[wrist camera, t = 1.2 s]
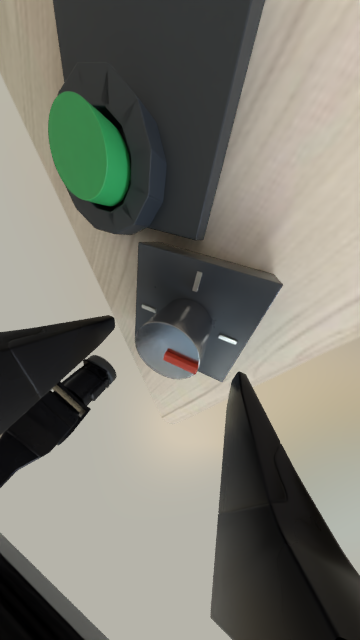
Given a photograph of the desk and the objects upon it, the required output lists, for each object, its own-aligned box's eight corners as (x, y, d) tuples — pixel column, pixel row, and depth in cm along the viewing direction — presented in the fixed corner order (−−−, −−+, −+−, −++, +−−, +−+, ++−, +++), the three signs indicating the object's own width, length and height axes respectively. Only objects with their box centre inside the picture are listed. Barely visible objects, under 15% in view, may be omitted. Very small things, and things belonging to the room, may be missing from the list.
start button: (86, 200, 10) (58, 194, 8) (75, 116, 8) (37, 88, 6) (130, 211, 9) (109, 206, 8) (131, 121, 7) (103, 91, 6)
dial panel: (149, 328, 18) (133, 343, 16) (158, 241, 13) (136, 242, 10) (225, 361, 16) (222, 383, 14) (274, 274, 11) (284, 285, 8)
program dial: (159, 332, 14) (131, 364, 10) (166, 290, 11) (132, 313, 8) (203, 351, 13) (188, 393, 9) (220, 309, 10) (209, 344, 7)
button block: (104, 223, 14) (61, 218, 11) (86, -3, 8) (-20, -168, 5) (200, 250, 12) (185, 254, 9) (272, -25, 6) (306, -338, 3)
